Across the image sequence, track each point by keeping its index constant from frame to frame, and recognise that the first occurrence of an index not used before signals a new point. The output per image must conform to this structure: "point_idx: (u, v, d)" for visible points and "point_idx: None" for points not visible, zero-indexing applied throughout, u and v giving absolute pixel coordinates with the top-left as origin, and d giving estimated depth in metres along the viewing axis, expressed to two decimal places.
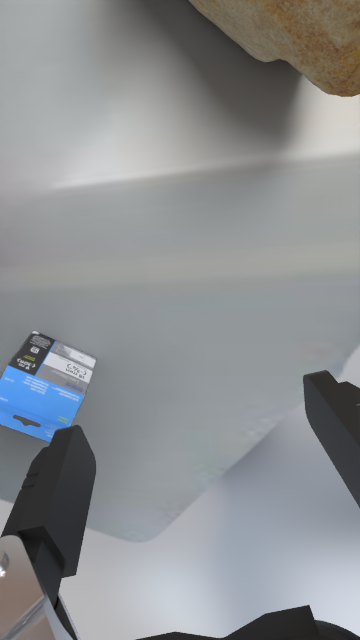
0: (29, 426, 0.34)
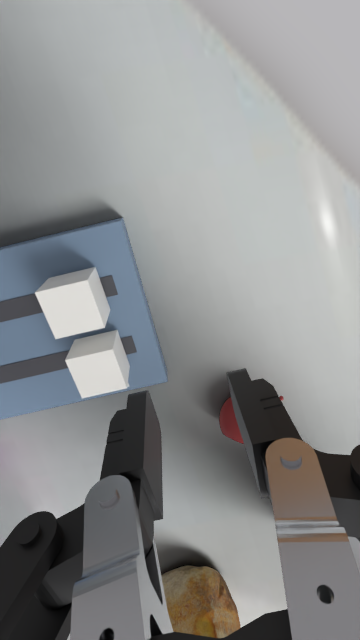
0: None
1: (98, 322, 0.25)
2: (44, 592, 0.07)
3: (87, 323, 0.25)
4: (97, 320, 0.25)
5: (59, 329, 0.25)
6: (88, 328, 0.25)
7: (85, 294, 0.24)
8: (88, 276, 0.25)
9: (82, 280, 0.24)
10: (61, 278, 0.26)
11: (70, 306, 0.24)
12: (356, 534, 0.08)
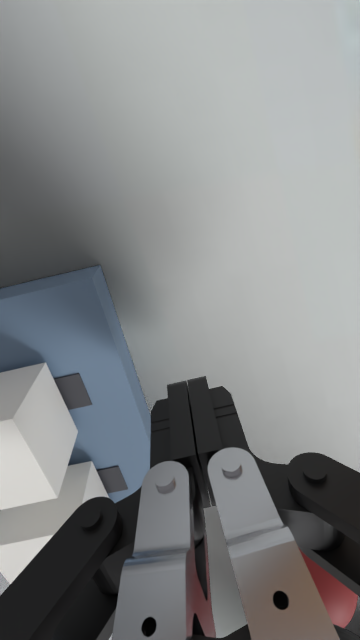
0: None
1: (44, 490, 0.12)
2: (105, 576, 0.08)
3: (20, 492, 0.12)
4: (41, 486, 0.12)
5: None
6: (24, 500, 0.12)
7: (11, 443, 0.11)
8: (20, 401, 0.12)
9: (3, 417, 0.11)
10: None
11: None
12: None
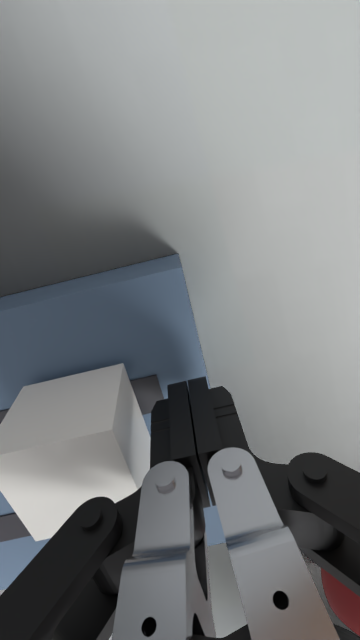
0: None
1: None
2: (105, 576, 0.08)
3: None
4: None
5: (43, 524, 0.11)
6: None
7: (106, 457, 0.10)
8: (112, 408, 0.10)
9: (99, 427, 0.10)
10: (49, 398, 0.11)
11: (68, 482, 0.10)
12: None
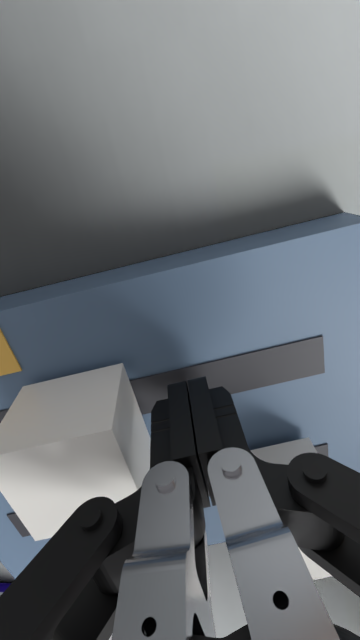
0: None
1: None
2: (105, 576, 0.08)
3: None
4: None
5: (42, 524, 0.11)
6: None
7: (105, 457, 0.10)
8: (112, 408, 0.10)
9: (98, 427, 0.10)
10: (48, 398, 0.11)
11: (68, 481, 0.10)
12: None
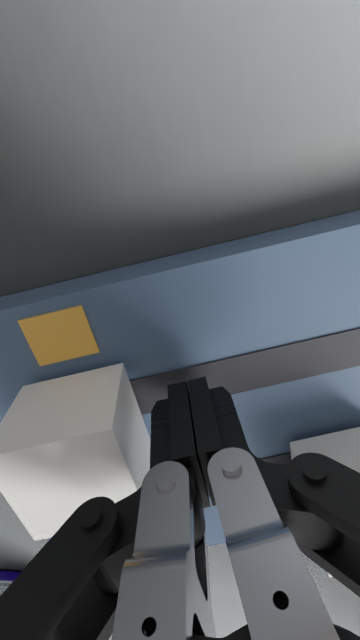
0: None
1: None
2: (105, 576, 0.08)
3: None
4: None
5: (42, 524, 0.11)
6: None
7: (105, 457, 0.10)
8: (112, 408, 0.10)
9: (98, 427, 0.10)
10: (48, 397, 0.11)
11: (67, 481, 0.10)
12: None
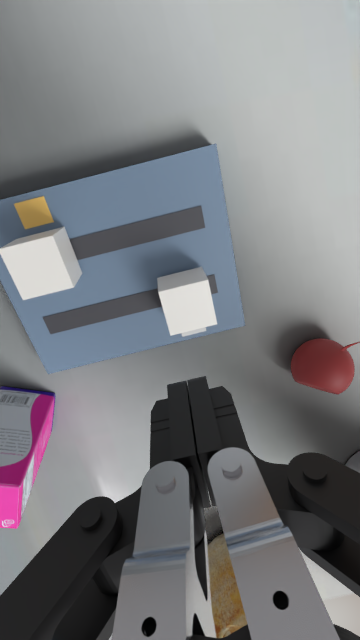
0: None
1: (67, 281, 0.24)
2: (105, 577, 0.08)
3: (54, 283, 0.24)
4: (65, 279, 0.24)
5: (25, 289, 0.24)
6: (56, 288, 0.25)
7: (51, 250, 0.23)
8: (54, 233, 0.24)
9: (47, 236, 0.23)
10: (28, 237, 0.25)
11: (36, 264, 0.24)
12: None
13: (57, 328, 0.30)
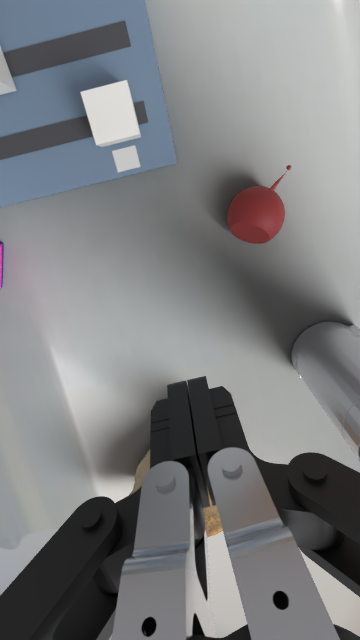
0: None
1: None
2: (105, 576, 0.08)
3: None
4: None
5: None
6: None
7: None
8: None
9: None
10: None
11: None
12: None
13: None
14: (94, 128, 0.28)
